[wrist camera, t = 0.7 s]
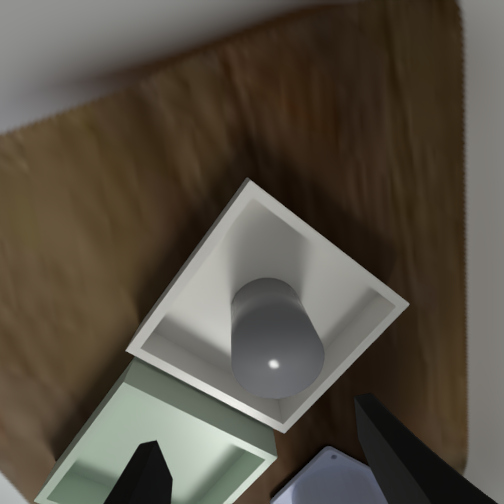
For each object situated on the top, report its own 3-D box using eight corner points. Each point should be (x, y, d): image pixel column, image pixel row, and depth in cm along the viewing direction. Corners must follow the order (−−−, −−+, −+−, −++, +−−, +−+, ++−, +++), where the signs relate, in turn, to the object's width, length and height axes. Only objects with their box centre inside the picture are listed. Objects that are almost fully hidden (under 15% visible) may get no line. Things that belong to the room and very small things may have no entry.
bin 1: (386, 285, 19) (410, 304, 17) (278, 402, 22) (284, 433, 19) (247, 176, 16) (250, 179, 14) (138, 325, 19) (125, 350, 16)
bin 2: (272, 424, 22) (277, 457, 20) (187, 514, 25) (183, 553, 22) (136, 354, 20) (123, 382, 17) (55, 462, 22) (33, 501, 19)
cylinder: (314, 302, 19) (343, 350, 14) (271, 351, 20) (285, 412, 15) (259, 264, 18) (271, 302, 13) (216, 318, 18) (212, 372, 14)
